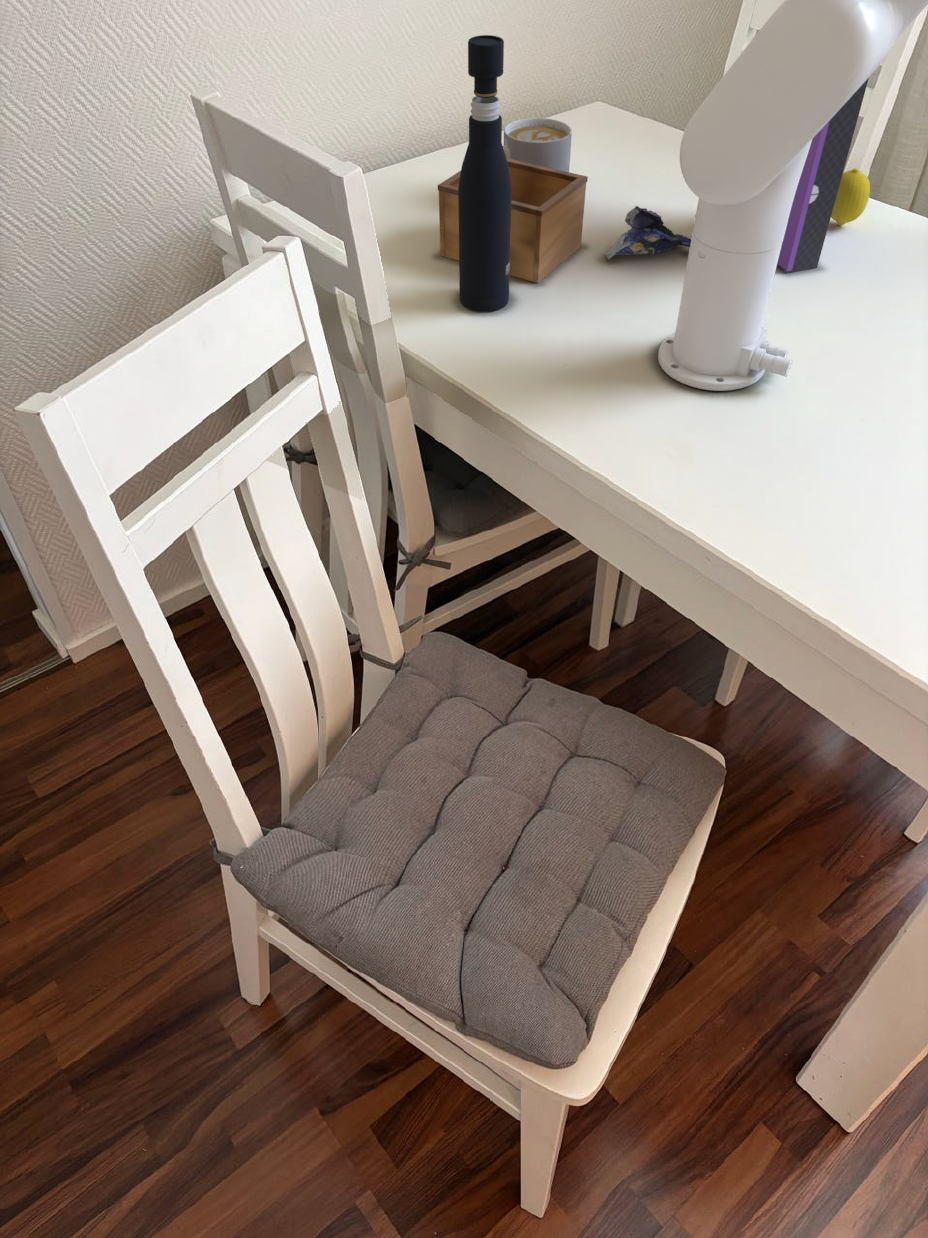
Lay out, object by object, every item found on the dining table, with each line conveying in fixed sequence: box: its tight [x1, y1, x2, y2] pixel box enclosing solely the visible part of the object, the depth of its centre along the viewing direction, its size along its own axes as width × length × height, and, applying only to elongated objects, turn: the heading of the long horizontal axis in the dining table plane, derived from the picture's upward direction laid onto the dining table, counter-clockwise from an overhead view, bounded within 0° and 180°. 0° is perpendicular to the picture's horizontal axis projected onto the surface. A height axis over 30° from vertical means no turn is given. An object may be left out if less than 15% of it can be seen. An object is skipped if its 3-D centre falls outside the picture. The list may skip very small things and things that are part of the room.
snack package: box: [604, 205, 691, 261], centre depth 131 cm, size 12×6×12 cm
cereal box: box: [777, 77, 870, 274], centre depth 125 cm, size 17×5×24 cm, turn 18°
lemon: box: [830, 167, 871, 227], centre depth 135 cm, size 6×6×8 cm
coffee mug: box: [502, 117, 573, 173], centre depth 141 cm, size 13×10×10 cm
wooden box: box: [437, 158, 589, 284], centre depth 129 cm, size 16×13×10 cm
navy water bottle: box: [458, 34, 512, 313], centre depth 112 cm, size 6×6×30 cm
